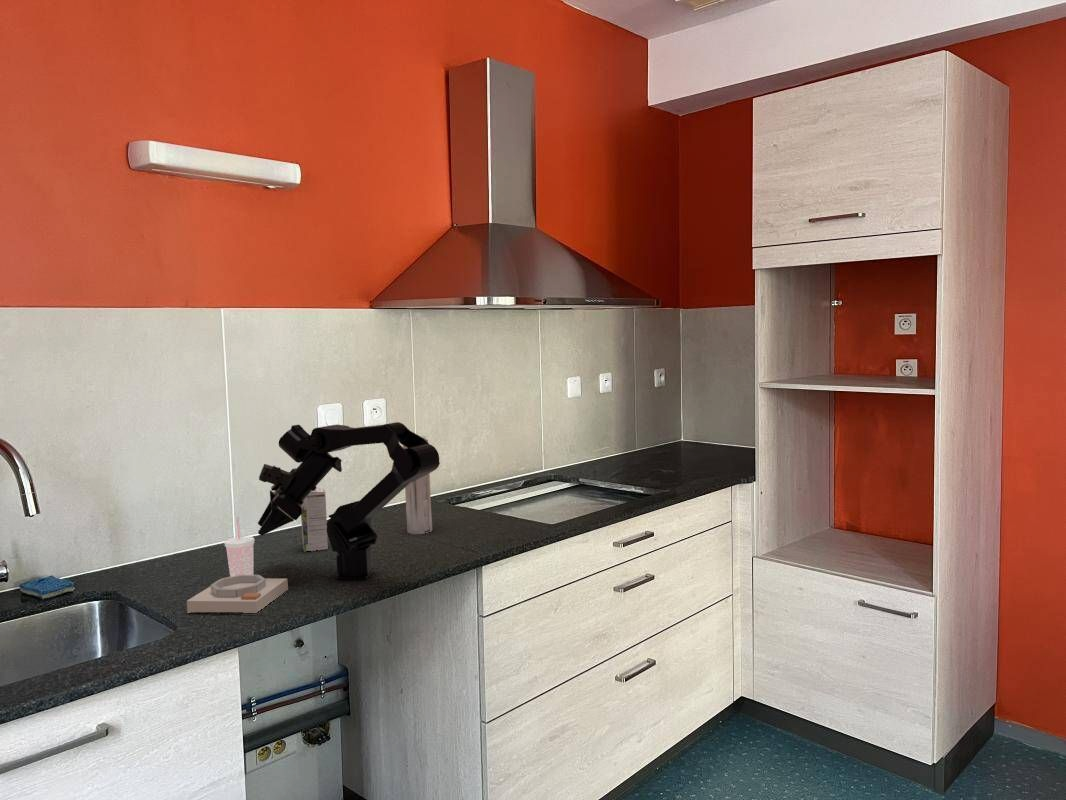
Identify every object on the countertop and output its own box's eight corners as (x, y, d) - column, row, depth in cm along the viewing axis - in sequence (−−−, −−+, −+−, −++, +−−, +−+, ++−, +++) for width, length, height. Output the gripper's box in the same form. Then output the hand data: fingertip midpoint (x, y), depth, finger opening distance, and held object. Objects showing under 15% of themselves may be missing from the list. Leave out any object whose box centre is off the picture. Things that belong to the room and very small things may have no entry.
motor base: (288, 590, 168) (286, 571, 168) (257, 614, 154) (255, 593, 154) (224, 590, 170) (222, 571, 170) (187, 613, 156) (186, 593, 156)
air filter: (408, 535, 210) (404, 439, 208) (405, 529, 216) (401, 436, 214) (434, 533, 212) (429, 437, 209) (430, 527, 218) (425, 434, 216)
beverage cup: (231, 587, 172) (227, 522, 170) (223, 580, 177) (219, 517, 175) (261, 581, 175) (256, 517, 174) (252, 575, 180) (247, 512, 179)
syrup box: (302, 547, 202) (298, 489, 201) (326, 544, 204) (323, 486, 203) (304, 552, 197) (300, 493, 196) (329, 549, 199) (325, 490, 198)
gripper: (278, 445, 186) (230, 498, 183) (281, 456, 168) (228, 515, 165) (316, 476, 189) (269, 528, 186) (323, 490, 171) (271, 548, 169)
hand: (259, 529), depth 177 cm, fingers open, 9 cm apart
